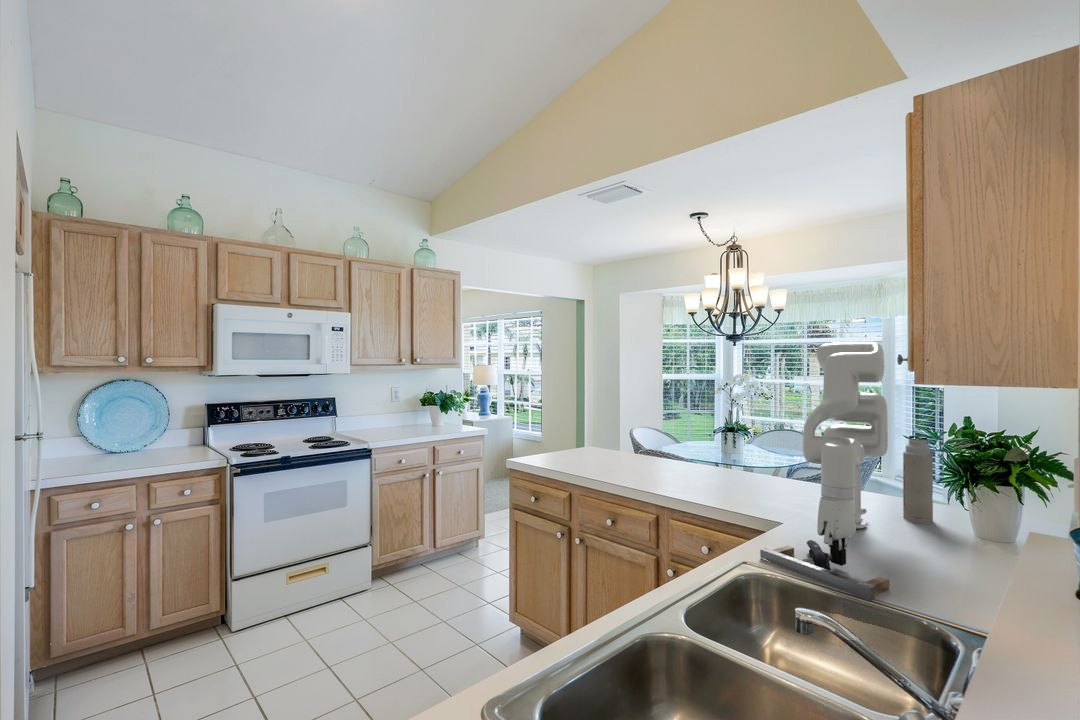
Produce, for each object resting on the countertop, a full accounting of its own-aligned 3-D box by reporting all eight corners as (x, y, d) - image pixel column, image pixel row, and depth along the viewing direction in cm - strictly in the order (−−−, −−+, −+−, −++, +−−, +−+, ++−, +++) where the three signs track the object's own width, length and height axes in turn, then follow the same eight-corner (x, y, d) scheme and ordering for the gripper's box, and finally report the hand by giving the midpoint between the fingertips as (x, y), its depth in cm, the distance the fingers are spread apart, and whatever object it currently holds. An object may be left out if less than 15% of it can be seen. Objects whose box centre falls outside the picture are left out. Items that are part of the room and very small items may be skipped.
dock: (784, 553, 146) (784, 542, 146) (893, 591, 122) (893, 578, 122) (760, 560, 141) (760, 549, 141) (869, 601, 117) (869, 588, 117)
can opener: (834, 579, 129) (834, 556, 129) (802, 574, 132) (802, 552, 132) (826, 554, 146) (826, 533, 146) (798, 550, 148) (798, 530, 148)
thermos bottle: (899, 520, 176) (899, 435, 176) (907, 515, 181) (907, 433, 181) (928, 525, 170) (928, 438, 170) (936, 521, 175) (935, 436, 175)
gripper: (839, 484, 141) (839, 552, 142) (806, 493, 134) (806, 565, 134) (869, 490, 135) (869, 561, 135) (835, 500, 127) (836, 575, 128)
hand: (838, 563), depth 135 cm, fingers closed
